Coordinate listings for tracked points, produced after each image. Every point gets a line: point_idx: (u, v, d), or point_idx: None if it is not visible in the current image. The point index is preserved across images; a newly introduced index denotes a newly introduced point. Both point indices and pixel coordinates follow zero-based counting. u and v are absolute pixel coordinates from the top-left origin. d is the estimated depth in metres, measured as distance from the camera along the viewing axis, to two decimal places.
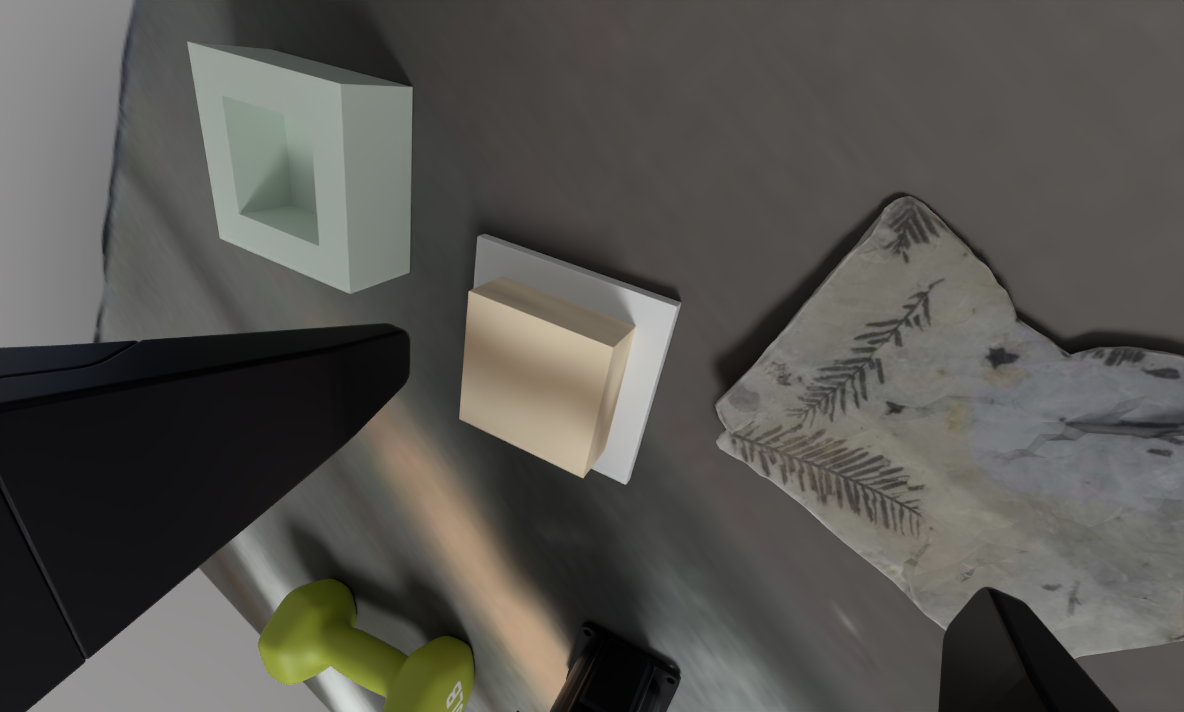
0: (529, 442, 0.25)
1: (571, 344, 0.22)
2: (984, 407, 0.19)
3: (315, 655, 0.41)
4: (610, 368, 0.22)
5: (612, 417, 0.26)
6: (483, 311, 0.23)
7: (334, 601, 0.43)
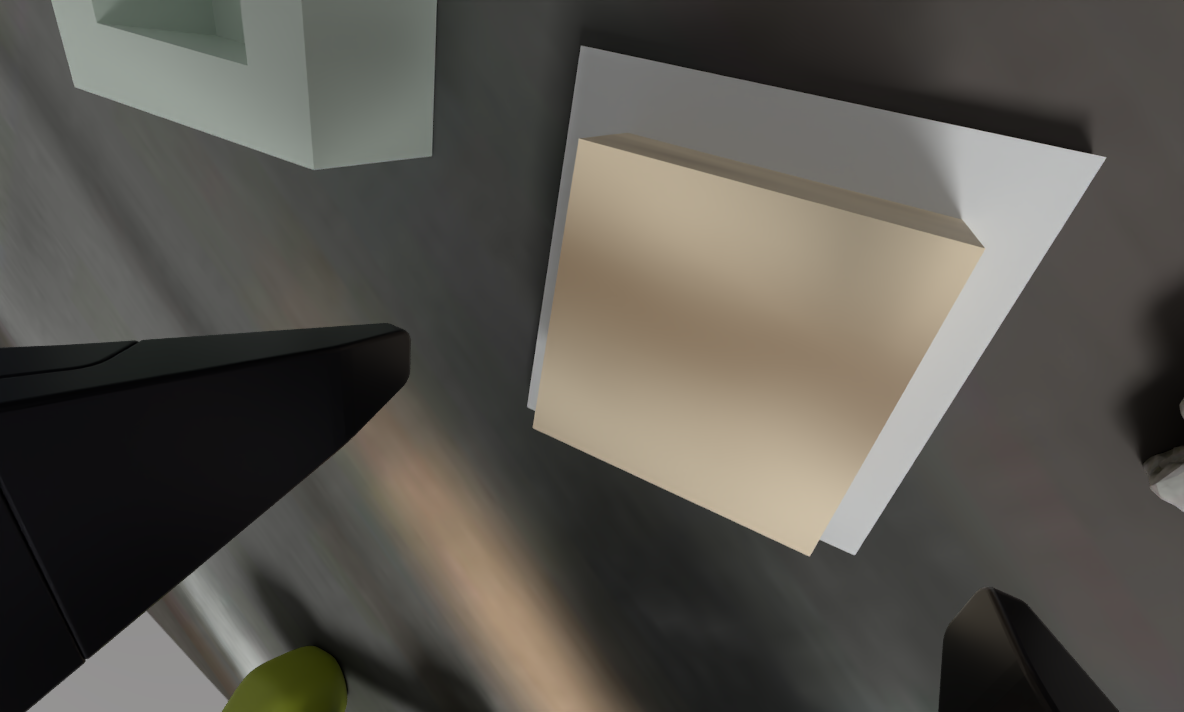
0: (687, 478, 0.12)
1: (846, 250, 0.09)
2: None
3: None
4: (945, 309, 0.09)
5: None
6: (612, 187, 0.10)
7: (314, 683, 0.30)
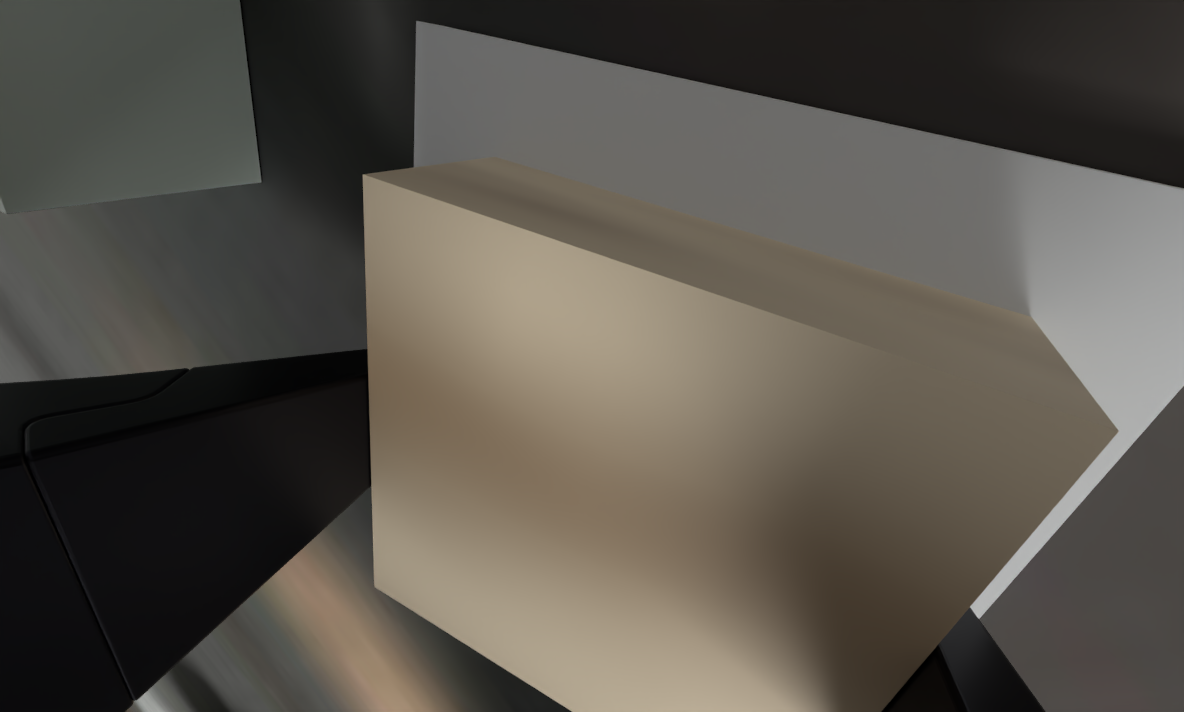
0: (585, 695, 0.08)
1: (823, 402, 0.05)
2: None
3: None
4: (1016, 518, 0.05)
5: None
6: (424, 258, 0.06)
7: None
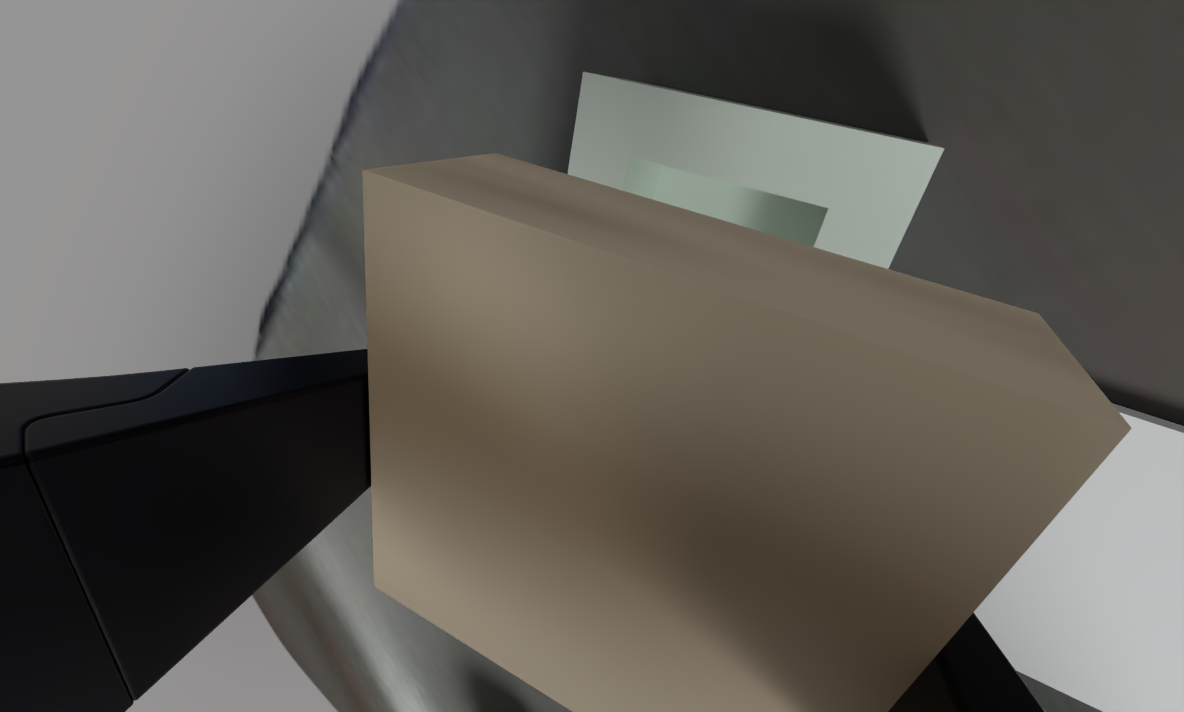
0: (587, 695, 0.08)
1: (829, 399, 0.05)
2: None
3: None
4: (1025, 517, 0.05)
5: None
6: (425, 254, 0.06)
7: None
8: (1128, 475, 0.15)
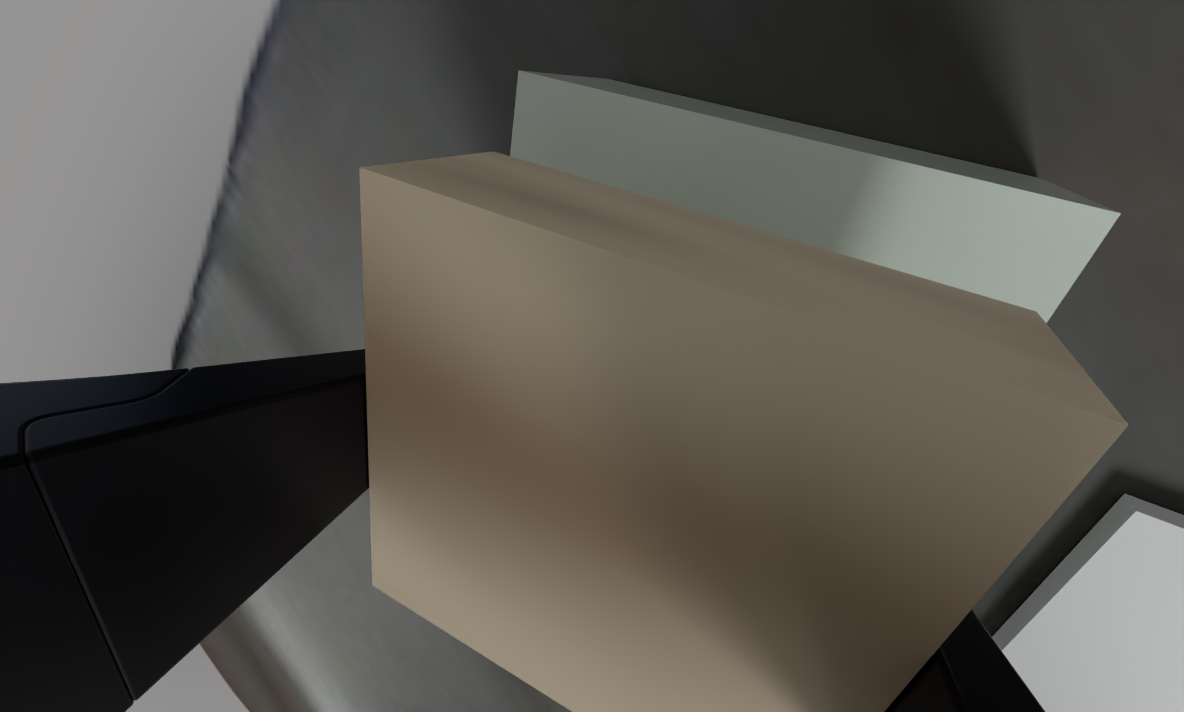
0: (585, 694, 0.08)
1: (826, 397, 0.05)
2: None
3: None
4: (1021, 514, 0.05)
5: None
6: (422, 252, 0.06)
7: None
8: None
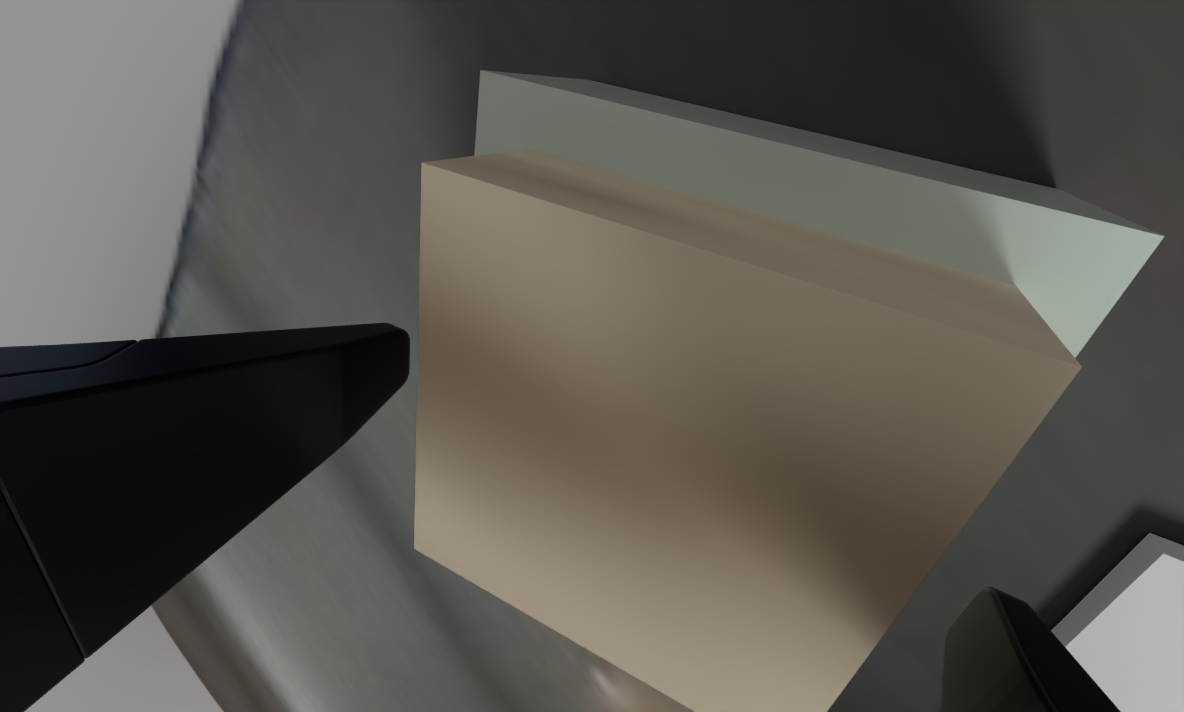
0: (614, 639, 0.09)
1: (832, 352, 0.05)
2: None
3: None
4: (999, 451, 0.05)
5: None
6: (476, 235, 0.07)
7: None
8: None
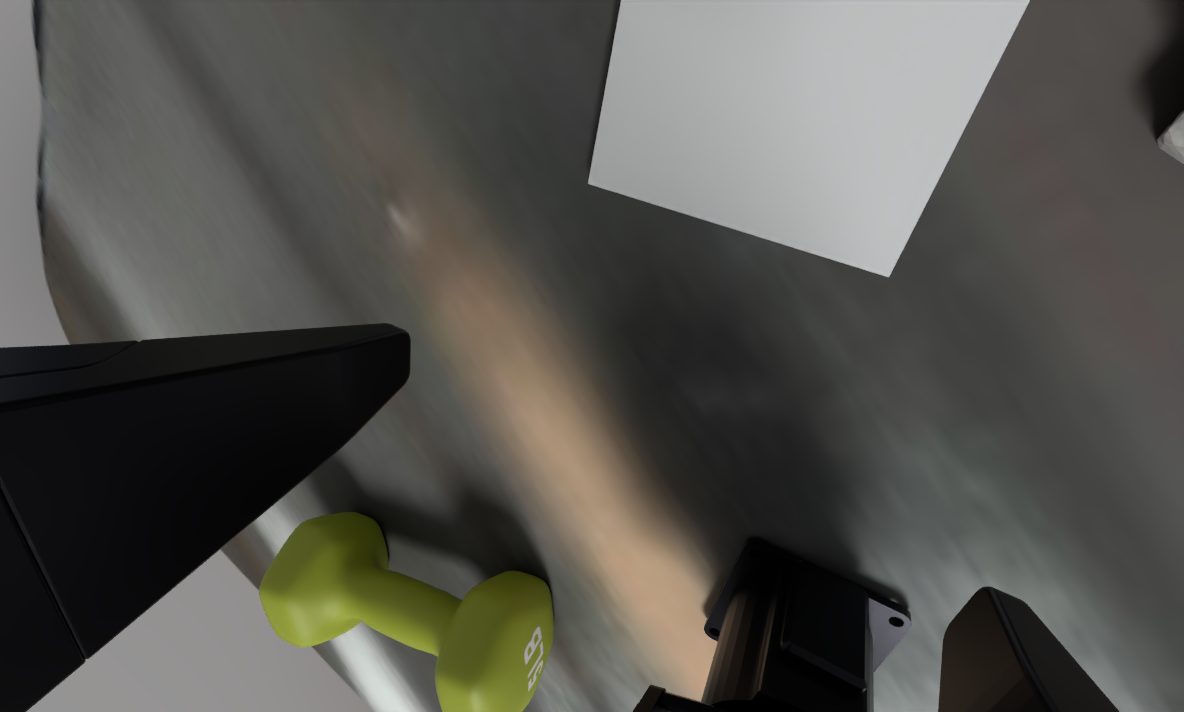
0: None
1: None
2: None
3: (336, 604, 0.30)
4: None
5: None
6: None
7: (359, 535, 0.32)
8: None
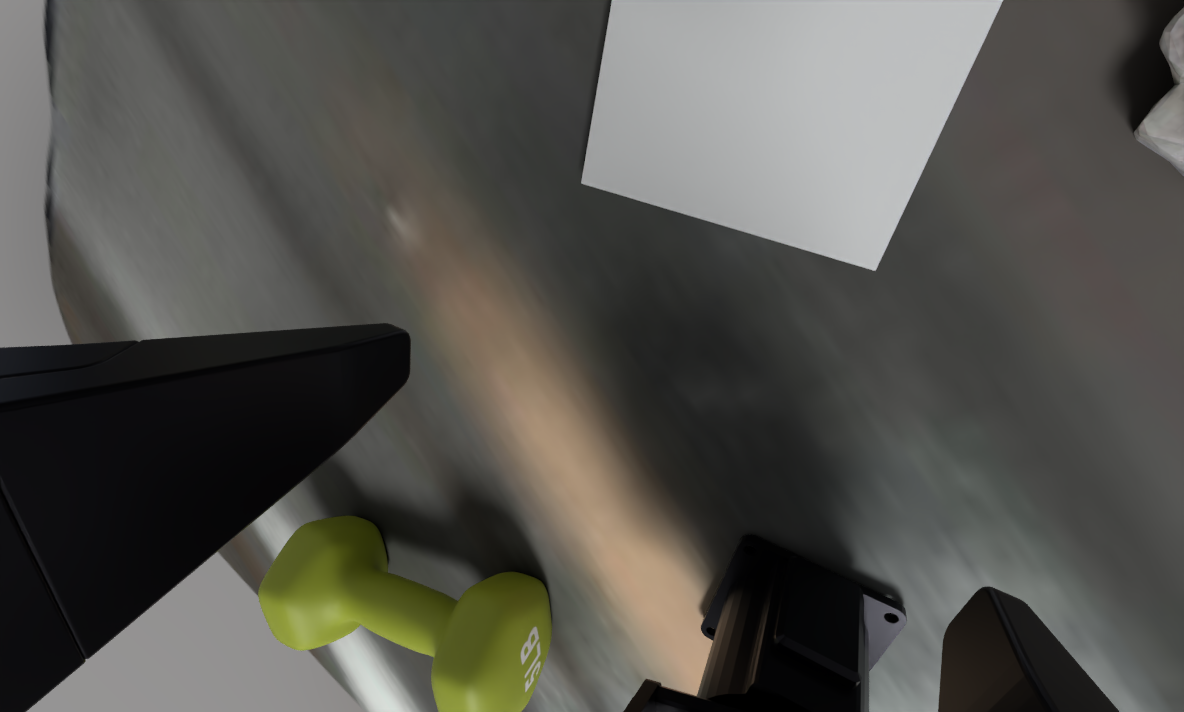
0: None
1: None
2: None
3: (335, 607, 0.30)
4: None
5: None
6: None
7: (358, 538, 0.33)
8: None
